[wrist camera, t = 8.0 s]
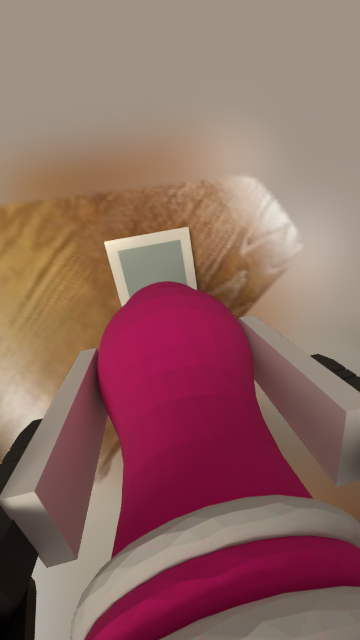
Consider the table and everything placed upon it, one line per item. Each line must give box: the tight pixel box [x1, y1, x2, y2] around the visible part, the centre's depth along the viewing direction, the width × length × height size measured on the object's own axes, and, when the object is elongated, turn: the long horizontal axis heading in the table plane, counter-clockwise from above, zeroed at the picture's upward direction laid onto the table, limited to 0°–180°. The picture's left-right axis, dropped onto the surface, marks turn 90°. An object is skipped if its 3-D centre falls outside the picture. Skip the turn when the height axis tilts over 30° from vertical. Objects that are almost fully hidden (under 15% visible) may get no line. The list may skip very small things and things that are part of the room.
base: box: [104, 227, 197, 306], centre depth 35 cm, size 12×12×3 cm
